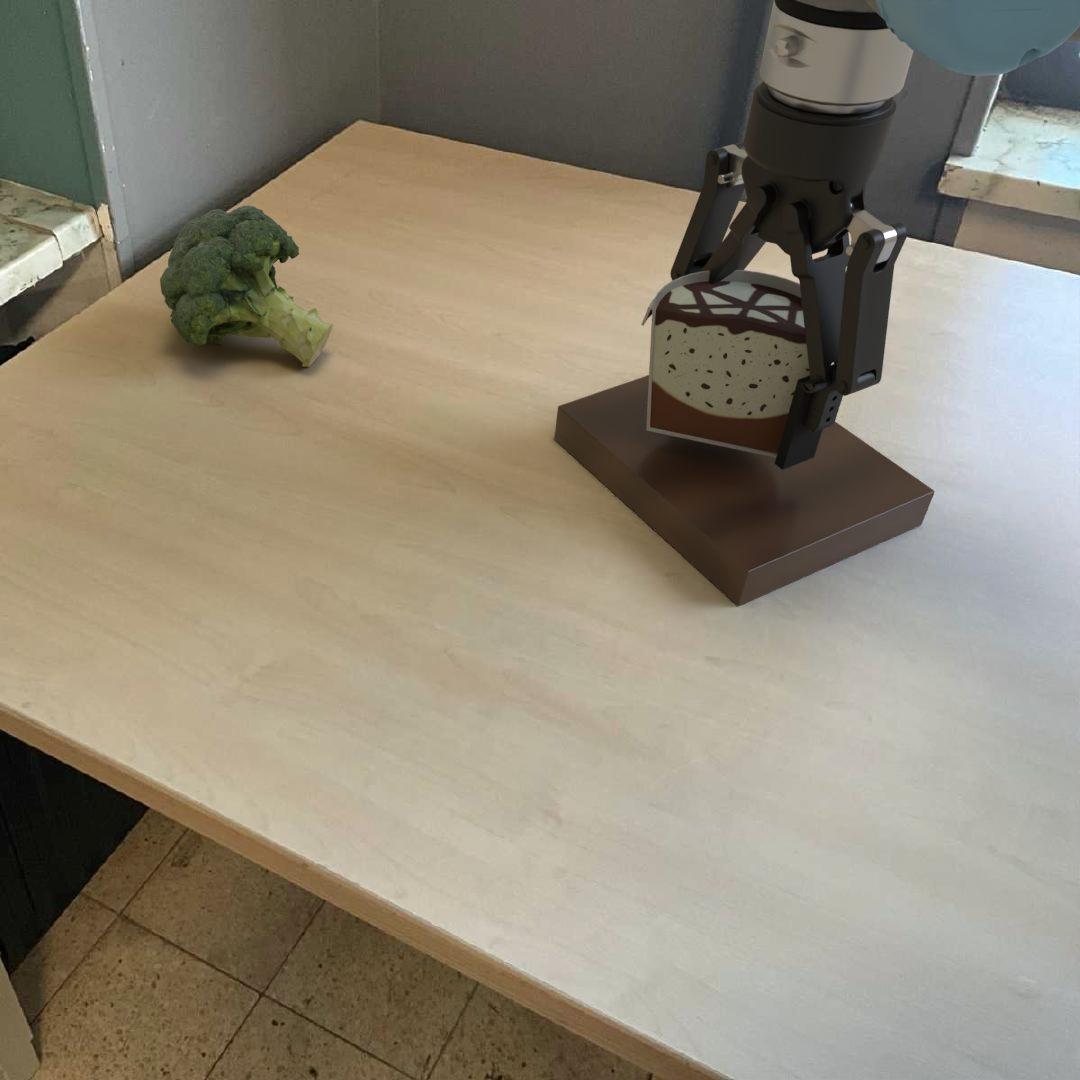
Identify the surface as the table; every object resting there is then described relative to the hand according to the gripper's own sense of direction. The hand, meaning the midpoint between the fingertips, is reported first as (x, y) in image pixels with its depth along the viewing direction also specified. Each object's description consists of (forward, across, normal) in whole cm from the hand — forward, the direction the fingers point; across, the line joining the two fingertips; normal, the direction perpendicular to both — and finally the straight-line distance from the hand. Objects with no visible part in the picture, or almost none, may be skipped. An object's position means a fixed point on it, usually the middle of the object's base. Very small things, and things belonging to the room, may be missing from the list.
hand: (743, 422), depth 79 cm
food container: (+1, -1, 0) cm, 2 cm away
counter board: (+5, 0, 0) cm, 5 cm away
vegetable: (+5, -33, -22) cm, 40 cm away
